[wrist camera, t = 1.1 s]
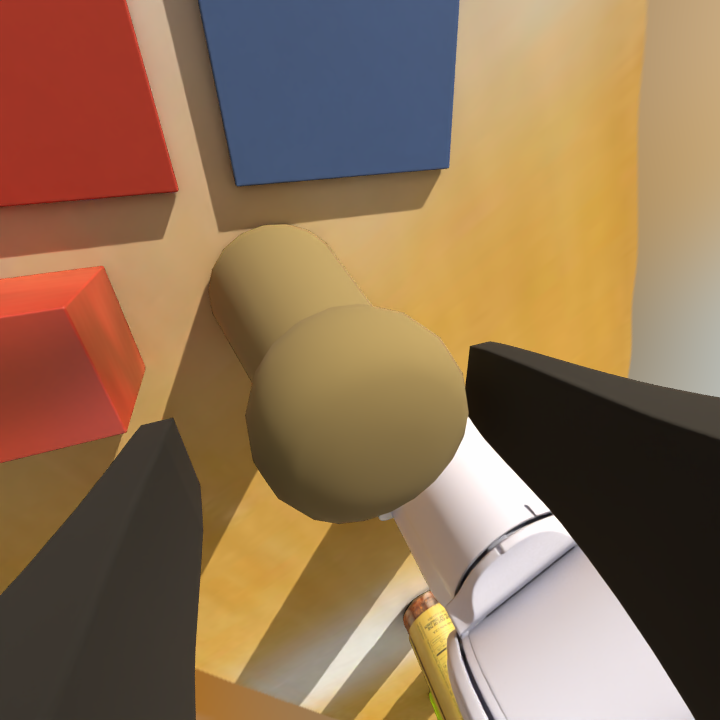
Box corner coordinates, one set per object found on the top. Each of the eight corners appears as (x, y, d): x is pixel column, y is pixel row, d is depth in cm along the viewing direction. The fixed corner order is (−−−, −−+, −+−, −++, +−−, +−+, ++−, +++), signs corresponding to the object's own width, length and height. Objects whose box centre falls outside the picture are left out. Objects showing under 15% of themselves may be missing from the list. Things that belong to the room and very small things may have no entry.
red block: (146, 368, 16) (127, 433, 12) (23, 393, 15) (-40, 473, 11) (103, 265, 14) (64, 306, 10) (-47, 284, 12) (-156, 340, 9)
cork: (234, 371, 17) (281, 607, 8) (185, 241, 14) (174, 393, 5) (353, 335, 19) (502, 499, 10) (334, 210, 15) (528, 283, 7)
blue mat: (444, 167, 16) (449, 168, 16) (235, 185, 14) (236, 186, 13) (462, -151, 12) (470, -159, 11) (155, -207, 9) (152, -220, 9)
